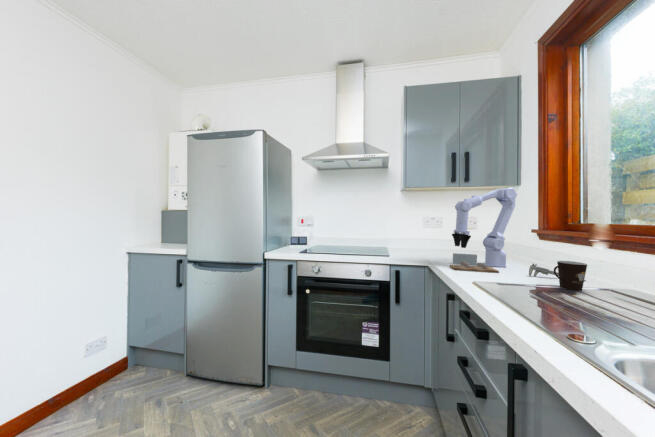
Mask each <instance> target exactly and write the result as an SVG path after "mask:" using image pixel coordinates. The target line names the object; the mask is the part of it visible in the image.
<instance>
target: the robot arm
mask: <svg viewBox="0 0 655 437" xmlns="http://www.w3.org/2000/svg"><path fill="white" fill-rule="evenodd" d="M517 196H518V193H517V191H516V189H515V188H514V187H506V188H497V189H492V190H491V191H489V192H486V193H484V194H482V195H475V194H474V195H471V197H469V198H464V199H463V200H462V201H458V202H457V203H455V205H454V209H455V210H456V220H455V229H453V233H451V237H452V238H453V241H454V246H455V247H461V248H462V249H463V248H464V249H466V248H467V246H468V242H469V241H470V239H471V238H472V235H470V232H471V231H469V230H468V223H469V222H468V221H469V212H470V211H471V210H472V209H474V208H476V207H478V206H480V205H482V203H484V202H485V201H488V200H491V199H495V200H496V201H497V202H498V203H499V204H500V205H501V209H500V211H499V214H498V216H497V218H496V221H495V223H494V226H493V228H492V230H491V232H489V233H487V235H486V237H485V238H484V239H483V240H482V244H483V247H484V249H485V252H484V253H485V254H484V255H485V256H484V262H483V263H484V264H486V265H487V267H497V268H499V267H500V268H506V267H507V266H506V265H507V253H506V251H505V250H503V249H504V247H505V240H506V237H505V236H504V233H505V231H506V229H507V226H508V224H509V221H510V220H511V219H510V218H511V217H512V216H513V212H514V211H515V207H516V198H517Z"/></svg>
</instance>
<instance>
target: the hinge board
mask: <svg viewBox="0 0 655 437" xmlns="http://www.w3.org/2000/svg"><path fill="white" fill-rule="evenodd" d="M484 263H485V262H477V265H469V263H467V262H460V264H449V267H450V268H451V269H452V270H454V271H461V272H462V271H463V272H476V273H477V272H479V273H497V274H499V273H500V270H498V269H495V268H493V266H487V265H486V264H484Z"/></svg>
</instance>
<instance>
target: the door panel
mask: <svg viewBox="0 0 655 437" xmlns="http://www.w3.org/2000/svg"><path fill="white" fill-rule="evenodd" d="M460 262H467V263H469V266H477V263H478V254H474V253H473V254H472V253H454V252H453V253H452V265H460Z"/></svg>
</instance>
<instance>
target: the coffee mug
mask: <svg viewBox="0 0 655 437" xmlns="http://www.w3.org/2000/svg"><path fill="white" fill-rule="evenodd" d="M556 262H557V266H554V268H553V271H554V274H555V275H554V276H555V277H556V278H558V279H559V280H558V281H559V287H560V288H561V287H562V288H561V289H564V288H565V289H564V290H568V289H569V291H576V292H578V291H581V292H582V291H583V287H584V284H585V281H584V280H585V277H586V273H587V268H588V264H587V263H584V262H580V261H570V260H557V261H556ZM557 270H558V271H557ZM556 272H558V273H559V276H558V275H557V274H556Z"/></svg>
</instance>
